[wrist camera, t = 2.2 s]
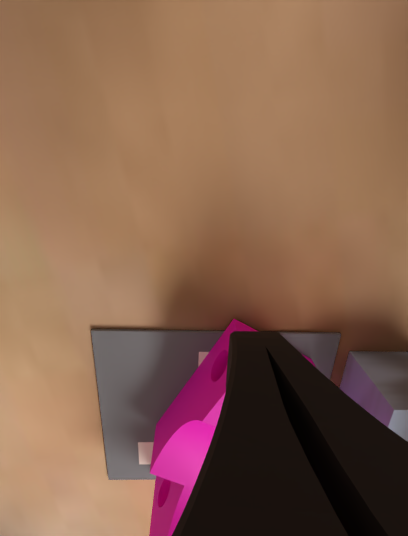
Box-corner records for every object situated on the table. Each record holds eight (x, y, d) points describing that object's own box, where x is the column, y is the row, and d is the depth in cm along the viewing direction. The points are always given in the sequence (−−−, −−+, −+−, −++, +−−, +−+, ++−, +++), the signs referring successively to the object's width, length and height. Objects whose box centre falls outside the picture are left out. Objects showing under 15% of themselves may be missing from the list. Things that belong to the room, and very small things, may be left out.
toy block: (233, 318, 19) (257, 419, 12) (311, 359, 20) (373, 470, 13) (127, 463, 23) (100, 597, 16) (196, 488, 25) (198, 621, 18)
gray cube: (419, 351, 21) (485, 410, 16) (399, 406, 23) (453, 473, 18) (348, 350, 20) (394, 410, 16) (334, 406, 22) (371, 474, 18)
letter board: (339, 332, 20) (341, 334, 20) (304, 475, 25) (305, 478, 25) (92, 329, 19) (90, 330, 19) (109, 477, 24) (108, 480, 24)
